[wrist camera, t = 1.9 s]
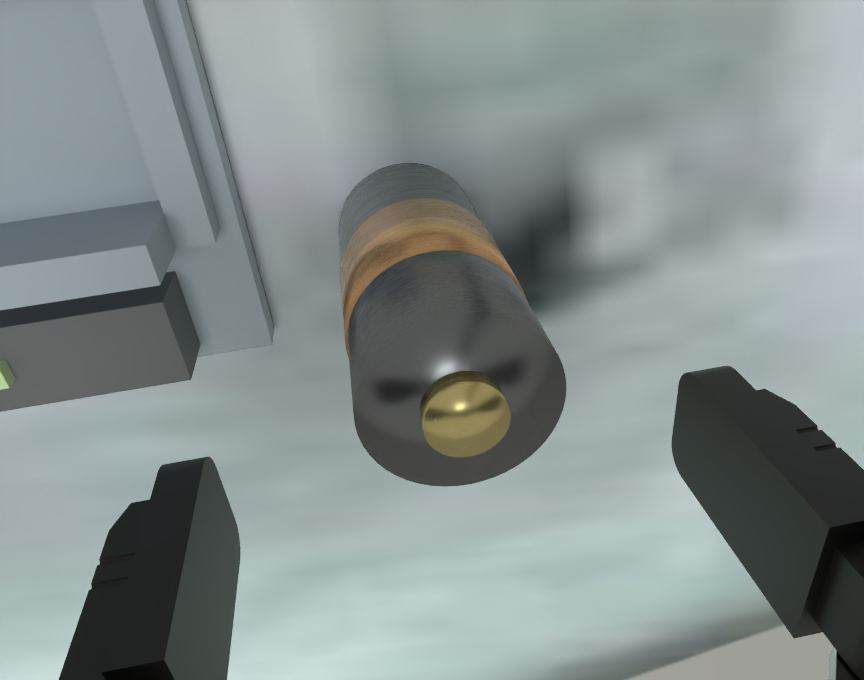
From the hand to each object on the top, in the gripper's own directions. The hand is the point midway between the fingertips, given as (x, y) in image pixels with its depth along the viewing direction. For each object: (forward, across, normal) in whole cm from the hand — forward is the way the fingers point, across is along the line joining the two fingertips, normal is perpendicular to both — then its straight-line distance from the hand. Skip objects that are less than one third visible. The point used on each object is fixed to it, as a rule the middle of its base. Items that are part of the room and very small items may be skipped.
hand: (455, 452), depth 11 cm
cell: (+10, 0, 0) cm, 10 cm away
